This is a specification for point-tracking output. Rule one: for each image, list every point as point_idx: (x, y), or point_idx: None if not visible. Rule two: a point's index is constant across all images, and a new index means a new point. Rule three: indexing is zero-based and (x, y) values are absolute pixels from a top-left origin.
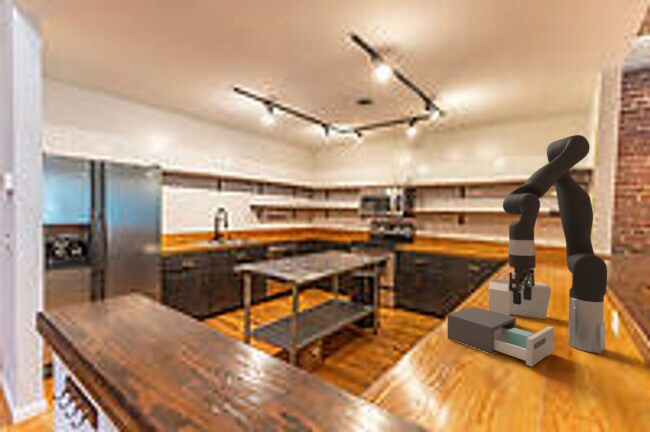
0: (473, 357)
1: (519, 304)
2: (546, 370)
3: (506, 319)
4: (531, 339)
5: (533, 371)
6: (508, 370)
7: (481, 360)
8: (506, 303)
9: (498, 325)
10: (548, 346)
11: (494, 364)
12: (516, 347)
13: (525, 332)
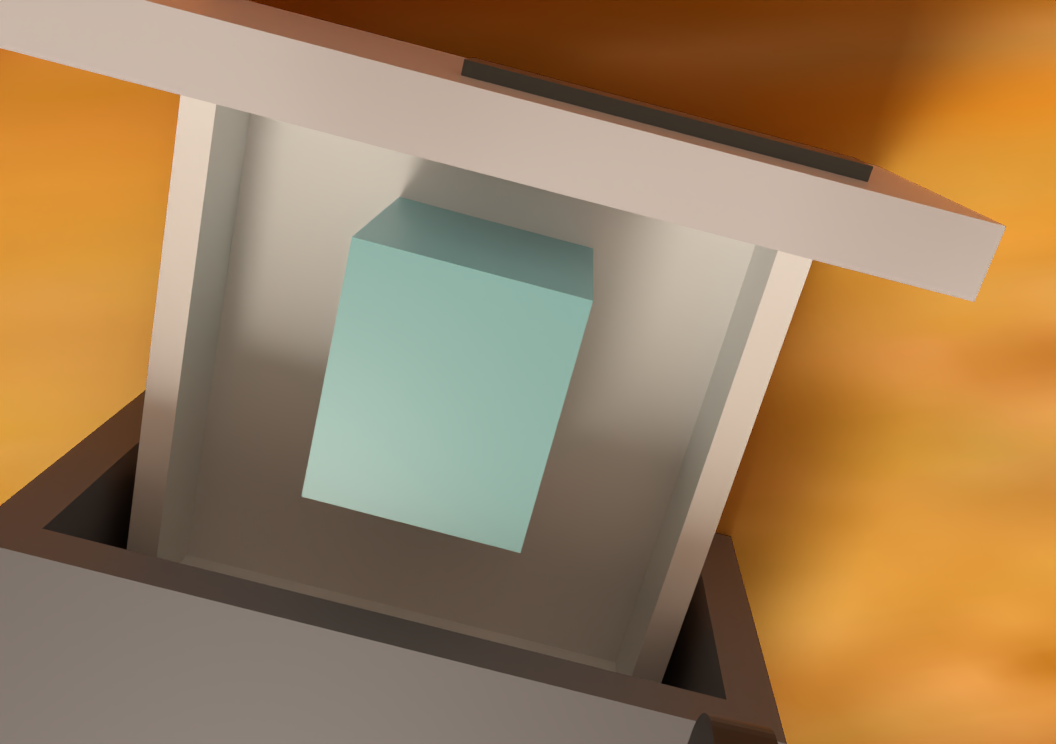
0: (913, 658)
1: (757, 737)
2: (774, 21)
3: (196, 636)
4: (988, 231)
5: (895, 139)
6: (1030, 352)
7: (940, 589)
8: None
9: (582, 687)
10: (330, 29)
11: (962, 479)
12: (770, 368)
13: (409, 339)
